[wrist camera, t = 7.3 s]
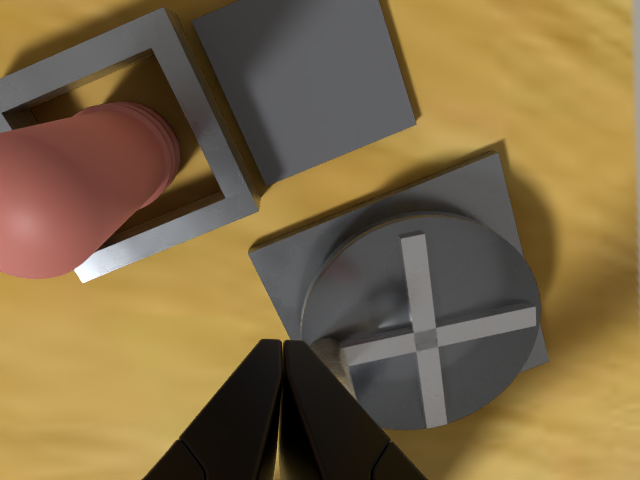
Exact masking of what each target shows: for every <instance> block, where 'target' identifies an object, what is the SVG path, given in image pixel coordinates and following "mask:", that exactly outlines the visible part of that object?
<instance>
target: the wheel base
mask: <svg viewBox="0 0 640 480" xmlns="http://www.w3.org/2000/svg"><path fill="white" fill-rule="evenodd" d="M417 211H439V212H448V213H453V214H457V215H461V216H465V217H468V218H470V219H473V220H475V221H478V222H480V223H482V224H483V225H485V226H487V227H488V228H490V229H492V230H493V231H495V232H496V233H497V234H499V235H500V236H501V237H503V238H504V239H505V240H506V241H508V242H509V243H510V244H511V245H512V246H514V247H515V249H516V250H517V251H518V252H519V253H520V254H521V255H522V256H523V252H522V247H521V243H520V239H519V235H518V231H517V227H516V223H515V219H514V215H513V211H512V206H511V202H510V198H509V194H508V190H507V186H506V182H505V178H504V174H503V170H502V166H501V161H500V157H499V153H498V152H495V151H490V152H487V153H485V154H482V155H480V156H477V157H475V158H473V159H470V160H468V161H465V162H463V163H460V164H458V165H455V166H453V167H450V168H448V169H445V170H443V171H440V172H438V173H435V174H433V175H430V176H428V177H425V178H423V179H420V180H418V181H416V182H413V183H411V184H408V185H406V186H403V187H401V188H398V189H396V190H393V191H391V192H388V193H386V194H383V195H381V196H378V197H376V198H373V199H371V200H368V201H366V202H363V203H361V204H358V205H356V206H354V207H351V208H349V209H346V210H344V211H341V212H339V213H336V214H334V215H331V216H329V217H326V218H324V219H321V220H319V221H316V222H314V223H311V224H309V225H306V226H304V227H301V228H299V229H297V230H294V231H292V232H289V233H287V234H284V235H282V236H279V237H277V238H274V239H272V240H269V241H267V242H264V243H262V244H259V245H257V246H254V247H252V248H249V251H248V255H249V257H250V259H251V261H252V263H253V265H254V267H255V269H256V271H257V273H258V275H259V277H260V279H261V281H262V283H263V285H264V287H265V289H266V291H267V293H268V295H269V297H270V299H271V301H272V303H273V305H274V307H275V309H276V311H277V313H278V315H279V317H280V319H281V321H282V323H283V325H284V327H285V329H286V331H287V333H288V335H289V337H290V339H291V340H301V313H302V306H303V303H304V299H305V296H306V293H307V290H308V288H309V286H310V284H311V281H312V279H313V278H314V276H315V274H316V273H317V271H318V269H319V268H320V266H321V265H322V264H323V263H324V261H325V260H326V259H327V258H328V256H329V255H330V254H331V253H332V252H333V251H334V250H335V249H336V248H337V247H338V246H339V245H340V244H342V243H343V242H344V241H345V240H347V239H348V238H349V237H351V236H352V235H354V234H355V233H356V232H358V231H360V230H362V229H363V228H365V227H367V226H369V225H371V224H373V223H376V222H378V221H380V220H383V219H385V218H389V217H392V216H396V215H399V214H404V213H411V212H417ZM523 258H524V256H523ZM547 362H549V358H548V354H547V350H546V346H545V342H544V338H543V333H542V329H541V325H539V330H538V335H537V338H536V341H535V344H534V347H533V349H532V352H531V354H530V356H529V358H528V360H527V362H526V363H525V365H524V366H523V368H522V369H521V371H520V372H523V371H526V370H528V369H531V368H534V367H536V366H539V365H542V364H544V363H547ZM520 372H519V373H520Z"/></svg>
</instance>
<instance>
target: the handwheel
mask: <svg viewBox="0 0 640 480" xmlns="http://www.w3.org/2000/svg"><path fill="white" fill-rule="evenodd" d="M540 314H541V305H540V295H539V291H538V287H537V283H536V280H535V278H534V275H533V273H532V271H531V269H530V267H529V265H528V264H527V262H526V261H525V259H524V258H523V256H522V255H521V254H520V253H519V252H518V251H517V250H516V249H515V247H514V246H512V245H511V244H510V243H509V242H508V241H506V240H505V239H504V238H503V237H501V236H500V235H499V234H497V233H496V232H495V231H493V230H492V229H490V228H488V227H487V226H485V225H483V224H482V223H480V222H478V221H475V220H473V219H470V218H468V217H465V216H461V215H457V214H453V213H448V212H439V211H417V212H411V213H404V214H399V215H396V216H392V217H389V218H385V219H383V220H380V221H378V222H376V223H373V224H371V225H369V226H367V227H365V228H363V229H362V230H360V231H358V232H356V233H355V234H354V235H352V236H351V237H349V238H348V239H347V240H345V241H344V242H343V243H342V244H340V245H339V246H338V247H337V248H336V249H335V250H334V251H333V252H332V253H331V254H330V255H329V256H328V258H327V259H326V260H325V261H324V263H323V264H322V265H321V266H320V268H319V269H318V271H317V273H316V274H315V276H314V278H313V279H312V281H311V284H310V286H309V288H308V290H307V293H306V296H305V299H304V303H303V306H302V313H301V340H303V341H305V342H306V343H307V344H308V346H309V347H310V348H311V349H312V350H313V351H314V352H315V354H316V355H317V356H318V357H319V358H320V359H321V360H322V362H323V363H324V364H325V365H326V366H327V367H328V368H329V369H330V371H331V372H332V373H333V374H334V375H335V376H336V377H337V379H338V380H339V381H340V382H341V383H342V384H343V385H344V387H345V388H346V389H347V390H348V391H349V392H350V393H351V395H352V396H353V397H354V398H355V399H356V400H357V401H358V403H359V404H360V405H361V406H362V407H363V408H364V409H365V411H366V412H367V413H368V414H369V415H370V416H371V417H372V418H373V420H374V421H375V422H376V423H377V424H378V425H379V426H380V428H386V429H392V430H417V429H425V428H427V429H428V428H433V427H437V426H442V425H447V423H450V422H453V421H456V420H458V419H461V418H463V417H465V416H467V415H469V414H471V413H473V412H475V411H477V410H479V409H480V408H482V407H483V406H485V405H486V404H488V403H489V402H491V401H492V400H493V399H494V398H496V397H497V396H498V395H499V394H500V393H501V392H502V391H504V390H505V389H506V388H507V387H508V386H509V385H510V384H511V382H512V381H513V380H514V379H515V377H516V376H517V375H518V374H519V372H520V371H521V369H522V368H523V366H524V365H525V363H526V362H527V360H528V358H529V356H530V354H531V352H532V349H533V347H534V344H535V341H536V338H537V335H538V330H539V325H540Z"/></svg>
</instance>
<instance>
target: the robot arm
mask: <svg viewBox="0 0 640 480" xmlns="http://www.w3.org/2000/svg"><path fill="white" fill-rule="evenodd" d="M278 429H279V465H280V475H281V480H428V479H427V478H426V477H425V476H424V475H423V474H422V473H421V472H420V471H419V470H418V469H417V468H416V467H415V466H414V464H413V463H412V462H411V461H410V460H409V459H408V458H407V457H406V456H405V455H404V454H403V452H402V451H401V450H400V449H399V448H398V447H397V446H396V444H395V443H394V442H391V439H390V438H389V437H388V436H387V434H386V433H385V432H384V431H383V430H382V429H381V428H380V426H379V425H378V424H377V423H376V422H375V421H374V420H373V418H372V417H371V416H370V415H369V414H368V413H367V412H366V411H365V409H364V408H363V407H362V406H361V405H360V404H359V403H358V401H357V400H356V399H355V398H354V397H353V396H352V395H351V393H350V392H349V391H348V390H347V389H346V388H345V387H344V385H343V384H342V383H341V382H340V381H339V380H338V379H337V377H336V376H335V375H334V374H333V373H332V372H331V371H330V369H329V368H328V367H327V366H326V365H325V364H324V363H323V362H322V360H321V359H320V358H319V357H318V356H317V355H316V354H315V352H314V351H313V350H312V349H311V348H310V347H309V346H308V344H307V343H306V342H305V341H303V340H285V341H284V343H283V351H282V342H281V341H280V340H278V339H261V340H260V341H259V342H258V343H257V345H256V346H255V347H254V348H253V349H252V351H251V352H250V353H249V354H248V355H247V357H246V358H245V359H244V360H243V361H242V363H241V364H240V365H239V366H238V367H237V369H236V370H235V371H234V372H233V373H232V375H231V376H230V377H229V378H228V379H227V381H226V382H225V383H224V384H223V385H222V387H221V388H220V389H219V390H218V391H217V393H216V394H215V395H214V396H213V397H212V398H211V400H210V401H209V402H208V403H207V404H206V406H205V407H204V408H203V409H202V410H201V412H200V413H199V414H198V415H197V416H196V418H195V419H194V420H193V421H192V422H191V424H190V425H189V426H188V427H187V428H186V430H185V431H184V432H183V433H182V434H181V436H180V437H179V440H176V441H175V442H174V444H173V445H172V446H171V447H170V448H169V450H168V451H167V452H166V453H165V454H164V456H163V457H162V458H161V459H160V460H159V461H158V462H157V463H156V465H155V466H154V467H153V468H152V469H151V470H150V471H149V472H148V474H147V475H146V476H145V477H144V478H143V479H142V480H273V476H274V470H275V462H276V453H277V441H278Z"/></svg>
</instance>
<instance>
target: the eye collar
mask: <svg viewBox="0 0 640 480" xmlns="http://www.w3.org/2000/svg"><path fill="white" fill-rule="evenodd" d="M154 54H155V56H156V58H157V60H158V62H159V64H160V66H161V68H162V70H163V72H164V74H165V76H166V78H167V80H168V82H169V84H170V86H171V88H172V90H173V92H174V94H175V96H176V98H177V100H178V102H179V104H180V107H181V109H182V111H183V113H184V115H185V117H186V119H187V121H188V123H189V125H190V127H191V129H192V131H193V133H194V135H195V137H196V139H197V141H198V143H199V145H200V147H201V149H202V151H203V153H204V155H205V157H206V159H207V161H208V163H209V166H210V168H211V170H212V172H213V174H214V176H215V178H216V180H217V182H218V184H219V186H220V188H221V191H219V192H217V193H214V194H212V195H209V196H207V197H204V198H202V199H200V200H197V201H195V202H192V203H190V204H187V205H185V206H183V207H180V208H178V209H175V210H173V211H171V212H168V213H166V214H163V215H161V216H158V217H156V218H154V219H151V220H149V221H146V222H144V223H141V224H139V225H137V226H134V227H132V228H129V229H127V230H124V231H122V232H120V233H117V234H115V235H112V236H110V237H109V238H108V239H107V240H106V241H105V242H104V243H103V244H102V245H101V246H100V247H99V248H98V249H97V250H96V251H95V252H94V253H93V254H92V255H91V256H90V257H89V258H88V259H87V260H86V261H85V262H84V263H83V264H81V265H80V266H79V267H77V268H76V269H74V270H75V272H76V273H77V275H78V276H79V278H80V280H81V281H82V283H84V282H87V281H89V280H91V279H94V278H96V277H99V276H101V275H104V274H106V273H109V272H111V271H114V270H116V269H118V268H121V267H123V266H126V265H128V264H131V263H133V262H136V261H138V260H141V259H143V258H145V257H148V256H150V255H153V254H155V253H158V252H160V251H163V250H165V249H168V248H170V247H172V246H175V245H177V244H180V243H182V242H185V241H187V240H190V239H192V238H194V237H197V236H199V235H202V234H204V233H207V232H209V231H212V230H214V229H217V228H219V227H221V226H224V225H226V224H229V223H231V222H234V221H236V220H239V219H241V218H244V217H246V216H248V215H251V214H253V213H256V212H258V211H259V207H260V200H261V198H260V196H259V194H258V191H257V189H256V187H255V185H254V183H253V181H252V178H251V176H250V174H249V172H248V170H247V168H246V165H245V163H244V161H243V159H242V157H241V154H240V152H239V150H238V148H237V146H236V144H235V141H234V139H233V137H232V135H231V133H230V131H229V128H228V126H227V124H226V122H225V120H224V118H223V115H222V113H221V111H220V109H219V107H218V105H217V102H216V100H215V98H214V96H213V94H212V92H211V89H210V87H209V85H208V83H207V81H206V79H205V76H204V74H203V72H202V70H201V68H200V66H199V63H198V61H197V59H196V57H195V55H194V53H193V50H192V48H191V46H190V44H189V42H188V40H187V37H186V35H185V33H184V31H183V29H182V27H181V24H180V22H179V20H178V18H177V16H176V14H175V13H173V12H172V11H170V10H168V9H166V8H164V7H162V8H160V9H158V10H155V11H153V12H151V13H149V14H146V15H144V16H142V17H139V18H137V19H135V20H133V21H130V22H128V23H126V24H124V25H121V26H119V27H117V28H114V29H112V30H110V31H108V32H105V33H103V34H101V35H99V36H96V37H94V38H92V39H89V40H87V41H85V42H83V43H80V44H78V45H76V46H74V47H71V48H69V49H67V50H64V51H62V52H60V53H58V54H55V55H53V56H51V57H48V58H46V59H44V60H42V61H39V62H37V63H35V64H33V65H30V66H28V67H26V68H23V69H21V70H19V71H17V72H14V73H12V74H10V75H8V76H5V77H3V78H1V79H0V133H2V132H6V131H11V130H15V129H20V128H24V127H29V126H33V125H38V124H39V123H38V122H37V120H36V118H35V117H34V115H33V114H32V112H31V110H30V108H32V107H34V106H37V105H39V104H41V103H44V102H46V101H48V100H51V99H53V98H55V97H57V96H60V95H62V94H64V93H67V92H69V91H71V90H74V89H76V88H78V87H81V86H83V85H85V84H87V83H90V82H92V81H94V80H97V79H99V78H101V77H104V76H106V75H108V74H111V73H113V72H115V71H117V70H120V69H122V68H124V67H127V66H129V65H131V64H134V63H136V62H138V61H140V60H143V59H145V58H147V57H150V56H152V55H154Z"/></svg>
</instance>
